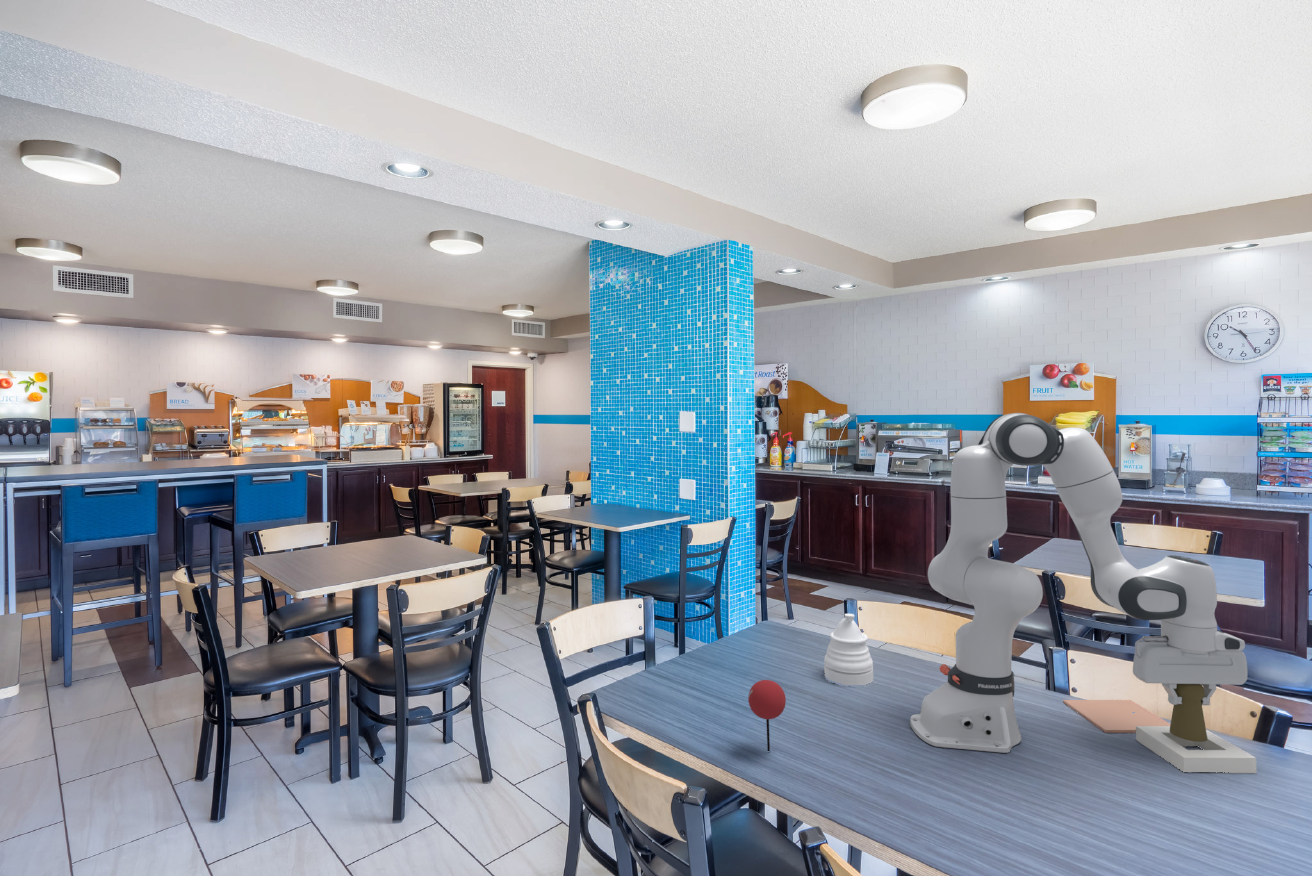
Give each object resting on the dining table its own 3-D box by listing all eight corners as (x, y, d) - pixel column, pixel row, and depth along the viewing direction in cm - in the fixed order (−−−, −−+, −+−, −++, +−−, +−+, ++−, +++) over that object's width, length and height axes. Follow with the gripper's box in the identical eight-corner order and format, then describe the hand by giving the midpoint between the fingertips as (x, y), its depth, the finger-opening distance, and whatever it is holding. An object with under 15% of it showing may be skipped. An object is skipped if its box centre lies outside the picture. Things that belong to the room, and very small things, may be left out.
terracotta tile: (1105, 732, 141) (1105, 730, 141) (1063, 702, 157) (1062, 699, 157) (1180, 732, 140) (1180, 730, 140) (1130, 702, 156) (1130, 699, 156)
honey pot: (880, 687, 169) (878, 619, 169) (831, 687, 169) (830, 620, 169) (864, 669, 182) (863, 606, 182) (819, 670, 182) (818, 606, 182)
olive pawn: (1214, 743, 127) (1214, 687, 127) (1180, 740, 128) (1179, 685, 128) (1196, 729, 133) (1195, 676, 133) (1162, 727, 134) (1162, 674, 134)
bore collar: (1184, 772, 124) (1183, 757, 124) (1136, 740, 137) (1135, 726, 137) (1256, 773, 123) (1256, 757, 123) (1200, 740, 137) (1200, 726, 137)
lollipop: (763, 739, 141) (762, 672, 141) (793, 751, 136) (792, 680, 136) (742, 752, 136) (741, 681, 136) (772, 764, 130) (770, 691, 130)
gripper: (1146, 640, 128) (1147, 709, 128) (1253, 641, 127) (1254, 711, 127) (1125, 631, 134) (1125, 697, 134) (1227, 632, 133) (1227, 698, 133)
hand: (1188, 704), depth 130 cm, fingers closed on olive pawn, 4 cm apart
